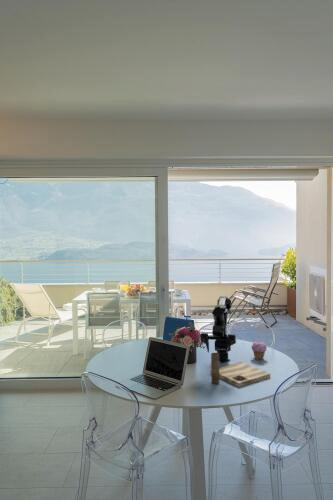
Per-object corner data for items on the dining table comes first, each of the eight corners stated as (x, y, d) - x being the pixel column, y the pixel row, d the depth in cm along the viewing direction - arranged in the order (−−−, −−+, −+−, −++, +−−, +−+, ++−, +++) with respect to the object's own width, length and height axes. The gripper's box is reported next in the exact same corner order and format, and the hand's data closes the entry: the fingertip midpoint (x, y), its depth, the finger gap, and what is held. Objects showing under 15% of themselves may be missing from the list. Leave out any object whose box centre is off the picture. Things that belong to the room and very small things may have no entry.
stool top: (210, 373, 219) (210, 370, 219) (241, 365, 231) (240, 361, 231) (239, 387, 200) (239, 383, 200) (270, 377, 212) (270, 373, 212)
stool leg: (209, 382, 207) (209, 353, 206) (215, 380, 209) (215, 352, 208) (214, 385, 204) (214, 355, 203) (221, 383, 206) (220, 354, 205)
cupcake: (249, 356, 246) (249, 339, 246) (263, 355, 247) (263, 339, 246) (254, 361, 237) (253, 344, 237) (268, 360, 238) (268, 343, 237)
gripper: (200, 318, 219) (197, 344, 209) (235, 319, 215) (233, 346, 205) (202, 328, 227) (200, 354, 217) (236, 330, 223) (235, 356, 213)
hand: (216, 352), depth 213 cm, fingers open, 9 cm apart
